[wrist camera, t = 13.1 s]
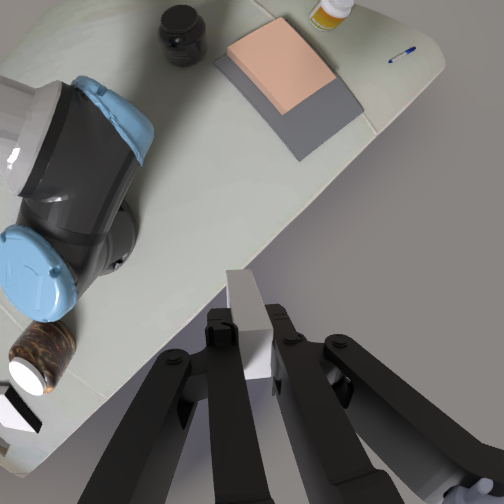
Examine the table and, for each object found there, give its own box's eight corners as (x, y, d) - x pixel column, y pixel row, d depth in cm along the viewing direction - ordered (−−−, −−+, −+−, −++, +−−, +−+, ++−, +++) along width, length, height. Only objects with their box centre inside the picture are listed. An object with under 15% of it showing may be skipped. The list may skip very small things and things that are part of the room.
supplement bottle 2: (336, 34, 37) (360, 13, 28) (309, 29, 36) (329, 6, 27) (333, 13, 35) (355, -9, 26) (306, 8, 35) (325, -17, 26)
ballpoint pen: (412, 46, 39) (415, 45, 38) (414, 49, 39) (417, 48, 38) (387, 61, 40) (390, 60, 39) (389, 65, 40) (392, 64, 39)
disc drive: (42, 423, 56) (38, 433, 52) (8, 418, 55) (4, 427, 50) (11, 384, 50) (5, 394, 46) (-19, 383, 49) (-25, 391, 44)
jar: (35, 345, 47) (7, 384, 33) (33, 306, 45) (-2, 343, 30) (75, 364, 50) (53, 409, 36) (77, 327, 47) (48, 372, 33)
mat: (362, 111, 42) (364, 111, 42) (298, 161, 44) (299, 161, 43) (285, 20, 35) (286, 18, 35) (213, 63, 37) (213, 62, 36)
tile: (336, 77, 37) (281, 16, 32) (286, 112, 38) (227, 47, 33) (328, 82, 40) (276, 24, 35) (281, 115, 41) (226, 54, 36)
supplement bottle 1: (215, 48, 36) (217, 15, 25) (185, 75, 37) (177, 46, 26) (186, 28, 34) (181, -8, 23) (157, 53, 35) (141, 22, 24)
